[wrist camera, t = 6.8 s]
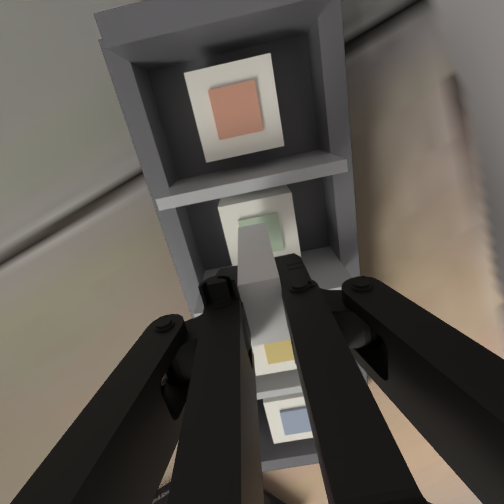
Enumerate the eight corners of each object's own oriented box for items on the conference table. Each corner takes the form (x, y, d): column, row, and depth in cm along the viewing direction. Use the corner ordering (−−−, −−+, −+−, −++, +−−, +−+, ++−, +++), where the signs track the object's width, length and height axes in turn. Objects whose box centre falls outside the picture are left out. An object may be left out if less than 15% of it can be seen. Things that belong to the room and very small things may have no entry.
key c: (210, 157, 19) (205, 163, 17) (191, 79, 17) (182, 72, 15) (279, 143, 19) (284, 146, 16) (266, 62, 17) (270, 52, 15)
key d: (254, 350, 23) (256, 378, 20) (242, 301, 21) (242, 325, 19) (312, 340, 22) (321, 367, 20) (305, 289, 21) (313, 312, 18)
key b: (271, 414, 25) (274, 446, 23) (261, 376, 24) (263, 405, 21) (322, 406, 25) (331, 437, 23) (316, 366, 23) (325, 395, 21)
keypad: (234, 410, 29) (231, 476, 24) (121, 52, 18) (65, 20, 12) (357, 389, 29) (385, 452, 23) (324, 4, 17) (362, -53, 12)
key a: (235, 257, 22) (233, 274, 19) (220, 197, 20) (217, 208, 18) (295, 245, 22) (302, 261, 19) (285, 184, 20) (291, 193, 17)
